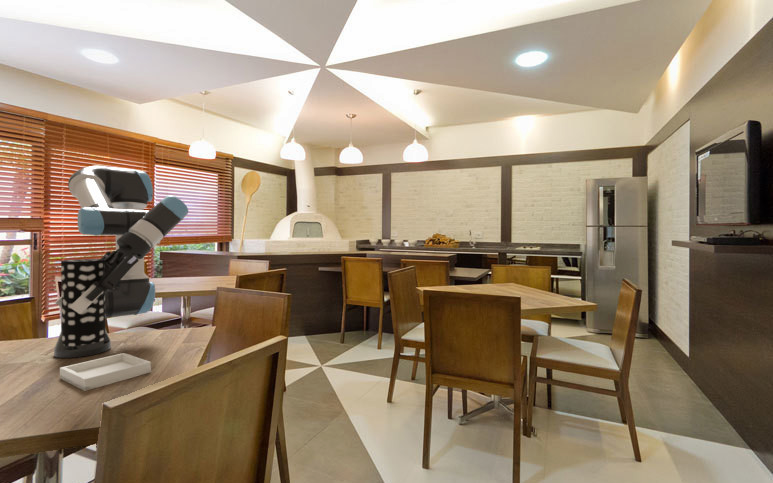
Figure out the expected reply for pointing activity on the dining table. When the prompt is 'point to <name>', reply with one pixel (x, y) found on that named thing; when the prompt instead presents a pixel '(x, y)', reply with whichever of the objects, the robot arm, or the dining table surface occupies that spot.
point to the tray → (104, 371)
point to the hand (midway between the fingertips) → (67, 308)
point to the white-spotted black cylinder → (74, 284)
